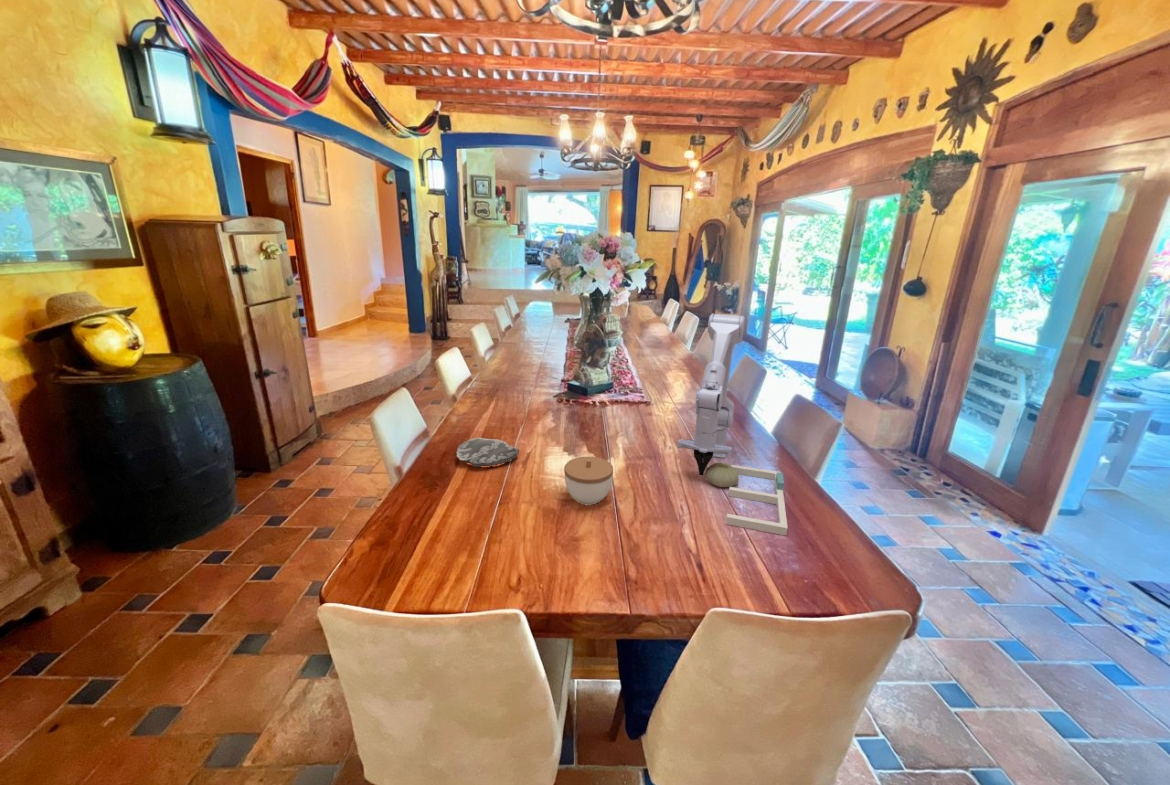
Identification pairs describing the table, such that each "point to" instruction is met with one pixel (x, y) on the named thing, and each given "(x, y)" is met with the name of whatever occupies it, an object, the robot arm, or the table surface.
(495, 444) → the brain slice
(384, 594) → the table surface
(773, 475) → the comb rack
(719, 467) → the sea urchin shell
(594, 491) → the lidded bowl
